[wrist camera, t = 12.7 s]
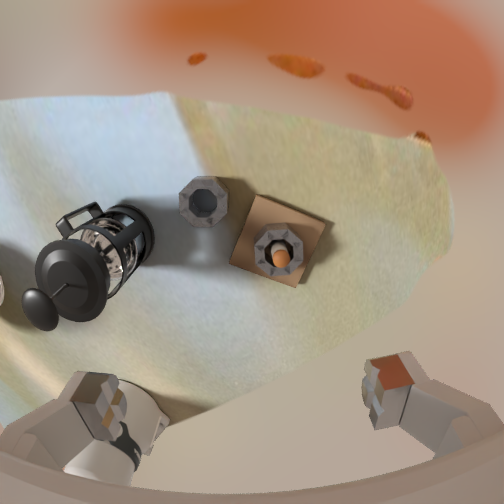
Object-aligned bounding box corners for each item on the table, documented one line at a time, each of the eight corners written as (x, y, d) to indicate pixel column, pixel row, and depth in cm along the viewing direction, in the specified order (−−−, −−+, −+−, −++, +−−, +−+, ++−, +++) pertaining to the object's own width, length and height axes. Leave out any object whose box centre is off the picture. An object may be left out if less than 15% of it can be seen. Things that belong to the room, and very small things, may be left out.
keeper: (294, 283, 47) (301, 308, 40) (229, 259, 45) (226, 281, 38) (323, 221, 44) (337, 236, 37) (256, 194, 42) (257, 204, 35)
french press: (170, 249, 45) (108, 341, 23) (123, 280, 46) (50, 374, 25) (123, 181, 42) (22, 221, 20) (79, 218, 43) (-23, 277, 21)
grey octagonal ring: (228, 220, 44) (226, 227, 40) (184, 220, 44) (179, 226, 40) (229, 176, 42) (227, 179, 38) (184, 176, 42) (178, 179, 38)
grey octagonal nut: (278, 274, 45) (280, 284, 41) (245, 247, 43) (244, 255, 40) (308, 242, 43) (312, 250, 40) (275, 213, 42) (277, 219, 39)
